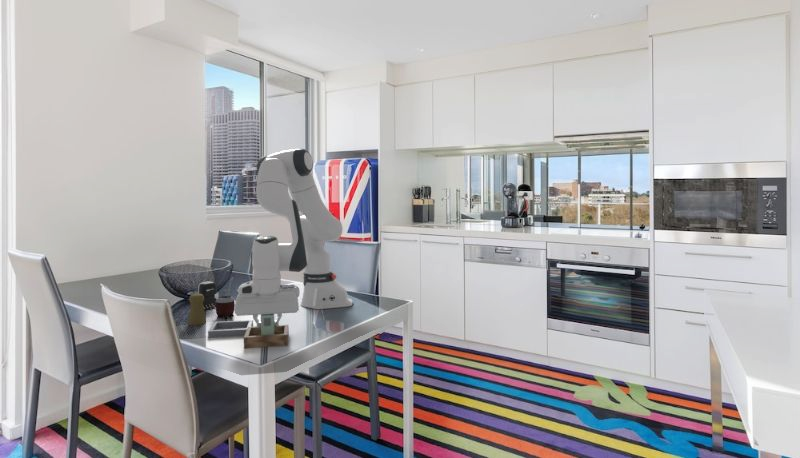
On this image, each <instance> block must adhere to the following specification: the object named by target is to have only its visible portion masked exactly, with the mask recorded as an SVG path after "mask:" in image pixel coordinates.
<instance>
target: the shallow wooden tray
mask: <svg viewBox="0 0 800 458" xmlns="http://www.w3.org/2000/svg"><path fill="white" fill-rule="evenodd" d="M246 328H247V327H246ZM289 329H290V328H289V324H279V327H275V335H261V328H257V325H256V326H255V325H253V327H248V328H247V330H246V333H245V335H244V336H243V349H252V348H253V349H254V348H269V347H271V348H272V347H286V346H288V344H289V335H290V333H289V331H290V330H289Z"/></svg>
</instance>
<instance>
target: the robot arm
mask: <svg viewBox="0 0 800 458" xmlns="http://www.w3.org/2000/svg"><path fill="white" fill-rule="evenodd" d="M313 167H314V162H313V158H312V155H311V153H310V152H309V151H308V150H306V149H305V148H295V149H288V150H282V151H280V152H275V153H272V154H269V155H264V156H262V157H260V158H259V159H258V160H257V163H256V171H257V177H256V178H257V179H256V191H255V192H256V200H257V202H258V204H259V205H260V207H261V208H262V209H264V210H265V211H267V212H269V213H271V214H274V215H277V216H280V217H283V218H285V219H286V220H287V221H288V223H289V226H290V233H291V238H292V240H291V242H286V243H285V242H284V243H279V240H278V237H276V236H274V235H261V236H258V237H256V238H254V240H253V245H252V250H251V252H250V263H251V264H250V265H251V266H252V269H253V274H252V279H251V280H250V281H246V282H244V283H241V284H240V285H239V286H238V291H237V292H238V294H237V296H236V298H235V300H234V302H235V309H234V314H235V315H236V316H237V317H241V316H243V317H244V316H252V320H253V321H254V322H255V323H256V326H257V328H261V320H259V319H258V316H261V315H263V314H274V315H277V318H276V320H275V319H274V327H279V325H280V321H281V319H282V317H283V314H294V313H295V314H296V313H298V311H299V307H300V306H299V296H300V293H301V292H300V288H299V286H298V285H296V284H282V279H281V276H282V275H281V273H280V272H292V273H293V272H294V273H300V272H302V271H303V275H302V284H303V293H302V298H301V302H300V305H301V306H302V307H304V308H309V309H314V310H324V309H325V310H326V309H334V308H335V309H336V308H347V307H351V306H353V304H354V303H353V299H352V298H351V297H348V296H349V295H348V291H347V289H346V288H345V287H344V286H343V285H342V284H340V283H339V282H338V281H336V279H337V275H336V273H334V272H331V256H330V253H329V252H328V251H327V250H326V248H325V247H324V244H323V242H325V243H328V242H334V241H337V240H339V239H340V238H341V237H342V235H343V224H342V222H341V220H340V219H338V217H335V216H334V215H333V214H332V213H331V212H330V210H329V209H328V208H327V206H326V205H325V204H324V202H323V200H322V197H321V195H320V193H319V190H318V188H317V184H316V181H315V178H314V176H313V174H312V170H313ZM300 213H301V214H302V215H300Z"/></svg>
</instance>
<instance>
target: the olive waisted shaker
mask: <svg viewBox="0 0 800 458" xmlns="http://www.w3.org/2000/svg"><path fill="white" fill-rule="evenodd" d="M188 301H189V303H190V308H189V315H188V316H189V318H188V326H192V327H193V326H201V325H205V324H206V323H207V319H206V314H205V311H204V307H203V301H204V296H203V295H202V294H198V293H193V294H191V295H190V296H189V297H188Z"/></svg>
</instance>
